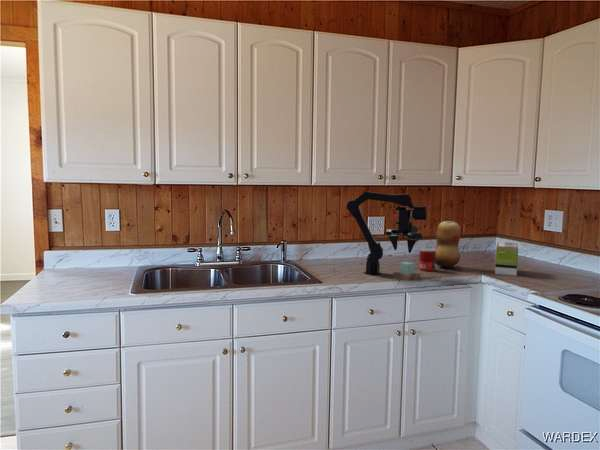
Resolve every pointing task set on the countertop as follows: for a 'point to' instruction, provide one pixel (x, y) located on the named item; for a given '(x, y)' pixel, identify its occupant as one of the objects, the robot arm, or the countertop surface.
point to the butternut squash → (447, 244)
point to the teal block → (407, 268)
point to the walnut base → (406, 276)
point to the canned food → (427, 259)
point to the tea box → (506, 258)
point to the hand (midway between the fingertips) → (402, 251)
